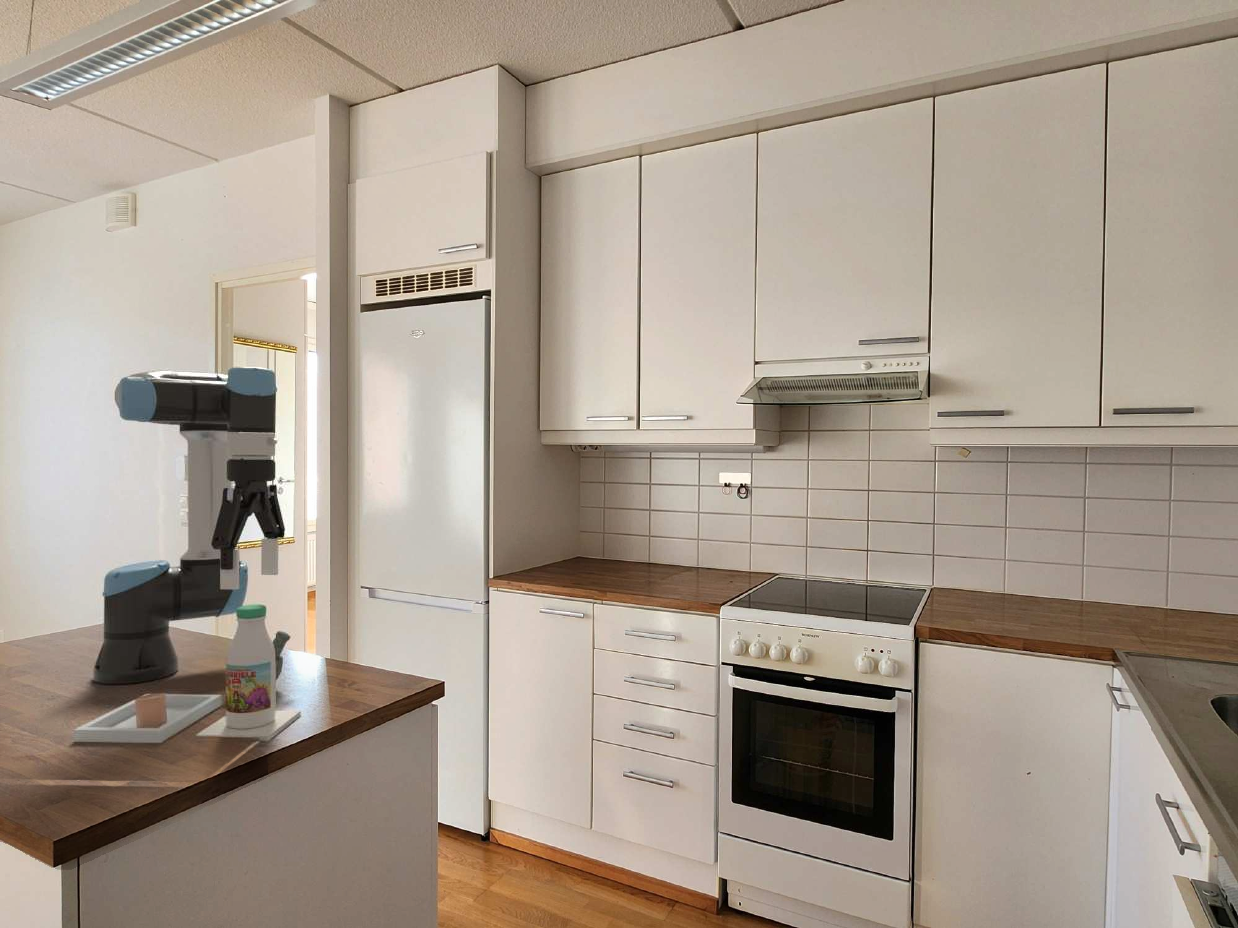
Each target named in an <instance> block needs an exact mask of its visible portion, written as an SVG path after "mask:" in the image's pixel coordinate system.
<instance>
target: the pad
mask: <svg viewBox="0 0 1238 928" xmlns="http://www.w3.org/2000/svg"><path fill="white" fill-rule="evenodd" d="M301 713H302V712H301V710H276V712H275V718H274V720H273V721H272V722H270V723H268V724H266V725H263V726H260V727H255V728H248V729H234V728H230V727H228V726H227V724H226V715H224V716H223V717H221V718H219V719H218V720H217V721H215V722H214V723H211V724H210V725H209V726H207V727H206V728H204V729H202V730H201V731H200V732H198V733H197V734H195V737H203V738H204V737H208V738H209V737H210V738H211V737H214V738H217V737H218V738H256V739H255V741H256V742H257V741H258V742H259V741H260V742H262V741H263V742H269V741H271V739H273V738H274V737H275V736H277V735H278V734H279V733H280V732H282V731H283V730H284V729H285V728H287V727H288V726H289V725H291V724H292V723H293V722H294V721H296V719H298V718H299V717H300V716H301V715H302V714H301Z"/></svg>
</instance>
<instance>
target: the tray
mask: <svg viewBox="0 0 1238 928" xmlns="http://www.w3.org/2000/svg"><path fill="white" fill-rule="evenodd" d="M148 694H149V693H145V694H144V695H148ZM165 694H166V710H167V723H166V724H164V725H162V726H161V727H159V728H137V727H136V709H135V699H133V700H131V701H128V702H126V703H125V704H123V705H121V706H119V707H117V708H115V709H113V710H110V711H109V712H107V713H105V714H102V715H100V716H98V717H97V718H94V719H93V720H91V721H89V722H87V723H85V724H83V725H81V726H79V727H76V728H74V729H73V743H76V742H77V743H118V744H119V743H123V744H125V743H128V744H129V743H130V744H131V743H132V744H161V743H163V742H165V741H166V740H168V739H169V738H171V737H173V736H174V735H176V734H177V733H180V732H181V731H183V730H184V729H187V727H189V726H190V725H192V724H193V723H195V722H197V721H199V720H200V719H202V718H203V717H206V716H207V715H208V714H209V713H212V712H213V711H215V710H216V709H218V708H220V707H221V706H222V697H223V695H222V694H195V693H194V694H189V693H187V694H184V693H183V694H182V693H180V694H178V693H175V694H174V693H165ZM144 695H142V696H144Z"/></svg>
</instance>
